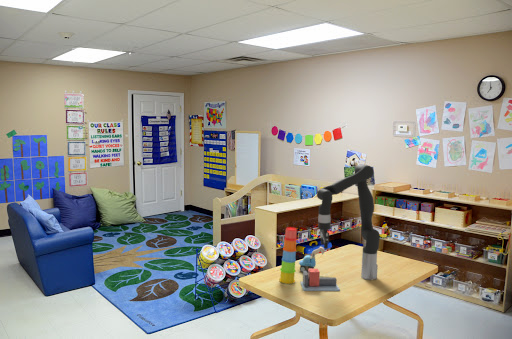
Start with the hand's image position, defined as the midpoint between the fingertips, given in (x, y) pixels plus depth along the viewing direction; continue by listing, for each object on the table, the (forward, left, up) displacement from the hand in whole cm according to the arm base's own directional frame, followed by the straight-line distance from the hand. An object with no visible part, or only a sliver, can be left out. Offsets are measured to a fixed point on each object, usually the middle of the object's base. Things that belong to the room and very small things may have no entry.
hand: (324, 246), depth 249 cm
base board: (+3, +7, -24) cm, 25 cm away
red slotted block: (+7, +7, -22) cm, 24 cm away
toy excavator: (+3, -21, -24) cm, 32 cm away
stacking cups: (+22, -2, -24) cm, 33 cm away
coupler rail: (+3, +7, -24) cm, 25 cm away
